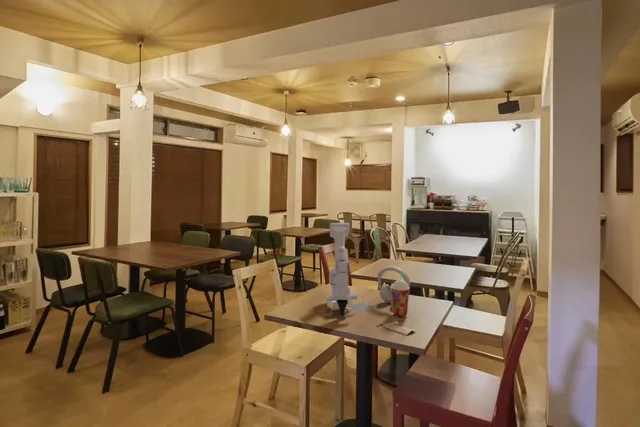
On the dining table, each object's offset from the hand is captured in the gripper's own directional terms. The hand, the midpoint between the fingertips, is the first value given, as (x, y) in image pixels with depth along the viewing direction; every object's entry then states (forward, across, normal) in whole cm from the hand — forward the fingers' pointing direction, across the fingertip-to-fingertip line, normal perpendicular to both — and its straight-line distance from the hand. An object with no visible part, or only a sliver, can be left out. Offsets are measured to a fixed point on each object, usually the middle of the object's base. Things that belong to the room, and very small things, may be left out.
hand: (341, 315), depth 178 cm
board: (+2, +5, +10) cm, 11 cm away
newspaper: (+3, +19, -12) cm, 23 cm away
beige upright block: (+1, +2, +9) cm, 9 cm away
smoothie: (+2, +29, -1) cm, 29 cm away
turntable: (+2, 0, +8) cm, 9 cm away
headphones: (+2, +33, +16) cm, 37 cm away
